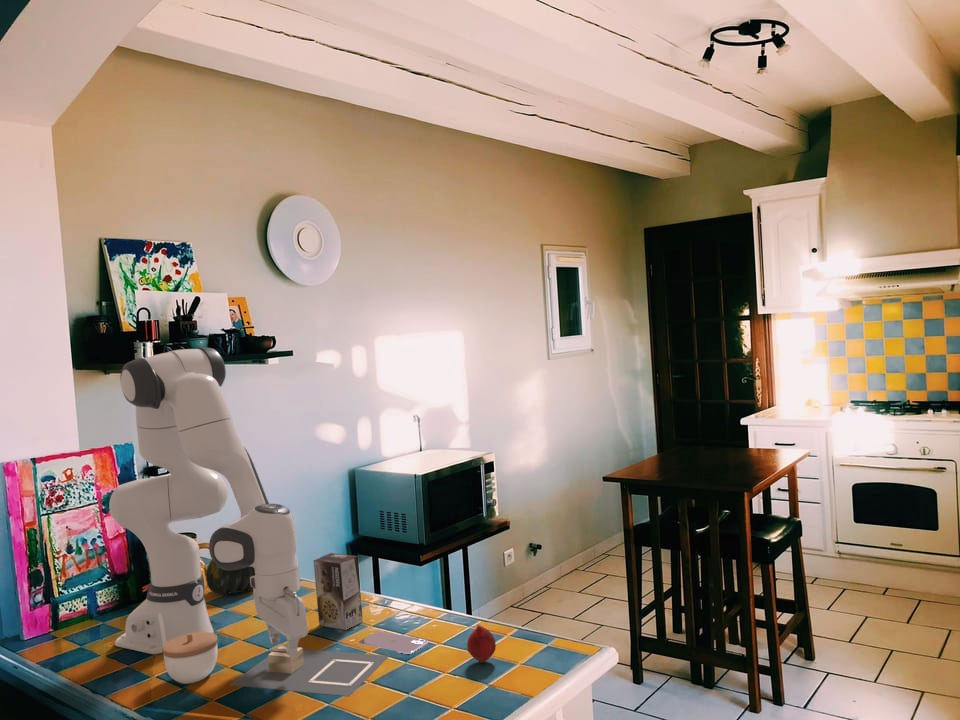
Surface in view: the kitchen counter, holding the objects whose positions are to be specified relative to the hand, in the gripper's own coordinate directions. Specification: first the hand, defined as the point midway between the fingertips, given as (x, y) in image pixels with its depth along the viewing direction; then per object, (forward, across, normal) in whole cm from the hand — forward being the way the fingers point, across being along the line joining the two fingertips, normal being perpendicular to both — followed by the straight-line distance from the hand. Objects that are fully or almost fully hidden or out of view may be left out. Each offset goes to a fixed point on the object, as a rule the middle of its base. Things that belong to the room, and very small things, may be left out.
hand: (283, 648), depth 156 cm
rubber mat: (+5, -4, -4) cm, 8 cm away
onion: (+5, -26, -32) cm, 42 cm away
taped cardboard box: (+4, +1, 0) cm, 4 cm away
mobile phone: (+5, -4, -23) cm, 24 cm away
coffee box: (+5, +16, -20) cm, 26 cm away
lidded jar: (+5, +11, +16) cm, 20 cm away
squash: (+4, +61, -10) cm, 62 cm away
